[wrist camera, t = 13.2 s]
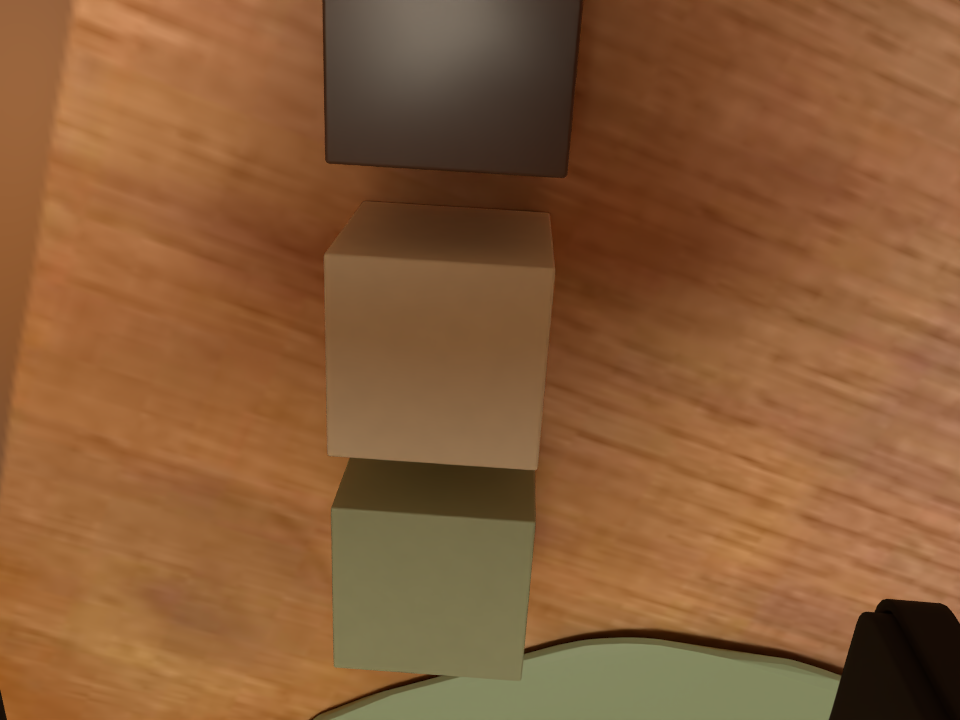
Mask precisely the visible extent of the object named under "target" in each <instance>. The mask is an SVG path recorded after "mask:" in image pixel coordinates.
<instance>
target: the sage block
mask: <svg viewBox="0 0 960 720" xmlns="http://www.w3.org/2000/svg"><path fill="white" fill-rule="evenodd" d="M535 525H536V512H535V470H521V469H507V468H493V467H478V466H464V465H450V464H436V463H422V462H407V461H393V460H379V459H365V458H351V457H350V459H349V461H348V464H347V467H346V469H345V472H344V475H343V478H342V480H341V483H340V486H339V488H338V491H337V494H336V497H335V499H334V502H333V505H332V507H331V536H332V594H333V652H334V667H338V668H351V669H365V670H378V671H391V672H405V673H418V674H431V675H444V676H458V677H471V678H484V679H497V680H511V681H521V679H522V668H523V657H524V646H525V635H526V624H527V613H528V602H529V591H530V580H531V569H532V558H533V547H534V536H535Z"/></svg>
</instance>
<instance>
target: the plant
mask: <svg viewBox="0 0 960 720" xmlns="http://www.w3.org/2000/svg"><path fill="white" fill-rule="evenodd" d="M840 679H841V676H840V675H838V674H835V673H832V672H829V671H827V670H824V669H821V668H818V667H815V666H811V665H808V664H805V663H801V662H798V661H795V660H790V659H785V658H778V657H772V656H765V655H759V654H752V653H746V652H739V651H733V650H726V649H720V648H713V647H707V646H700V645H693V644H687V643H680V642H674V641H667V640H661V639H650V638H633V637H620V638H600V639H589V640H582V641H576V642H571V643H565V644H561V645H556V646H552V647H549V648H545V649H541V650H537V651H534V652H530V653H526V654H524V657H523V668H522V679H521V681H511V680H497V679H484V678H471V677H458V676H444V675H443V676H440V677H436V678H432V679H428V680H425V681H421V682H417V683H413V684H409V685H406V686H402V687H398V688H394V689H391V690H387V691H383V692H380V693H377V694H374V695H370V696H367V697H364V698H362V699H359V700H356V701H354V702H351V703H349V704H346V705H343V706H341V707H338V708H335V709H333V710H330V711H328V712H325V713H322V714H320V715H318V716H317V717H316V718H314V719H313V720H829V717H830V714H831V710H832V707H833V704H834V700H835V697H836V693H837V690H838V686H839V683H840Z"/></svg>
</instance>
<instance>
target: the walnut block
mask: <svg viewBox="0 0 960 720" xmlns="http://www.w3.org/2000/svg"><path fill="white" fill-rule="evenodd" d="M322 2H323V61H324V119H325V160H326V162H327V163H329V164H344V165H360V166H376V167H392V168H408V169H424V170H441V171H457V172H473V173H489V174H505V175H521V176H537V177H554V178H565V177H566V176H567V173H568V162H569V151H570V140H571V130H572V119H573V108H574V97H575V86H576V75H577V64H578V53H579V42H580V31H581V20H582V9H583V0H322Z"/></svg>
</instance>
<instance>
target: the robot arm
mask: <svg viewBox="0 0 960 720" xmlns="http://www.w3.org/2000/svg"><path fill="white" fill-rule="evenodd" d="M0 720H7V718H6V714H5V709H4V705H3V700H2V696H1V692H0ZM829 720H960V623H959V622H958V620H957V619H956V617H955V615H954V614H953V613H952V611H951V610H950V609H949V608H948V607H947V606H945V605H943V604H941V603H930V602H918V601H906V600H894V599H885V600H882V601H881V602H880V603H879V604H878V605H877V608H876V610H875V612H864V613H862V614H861V615H860V616H859V619H858V621H857V624H856V627H855V631H854V634H853V638H852V641H851V645H850V648H849V651H848V655H847V658H846V662H845V665H844V669H843V672H842V676H841V679H840V683H839V686H838V690H837V693H836V697H835V700H834V704H833V707H832V710H831V714H830V717H829Z"/></svg>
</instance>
